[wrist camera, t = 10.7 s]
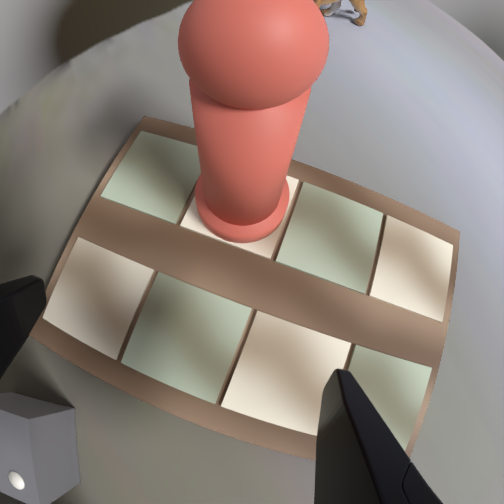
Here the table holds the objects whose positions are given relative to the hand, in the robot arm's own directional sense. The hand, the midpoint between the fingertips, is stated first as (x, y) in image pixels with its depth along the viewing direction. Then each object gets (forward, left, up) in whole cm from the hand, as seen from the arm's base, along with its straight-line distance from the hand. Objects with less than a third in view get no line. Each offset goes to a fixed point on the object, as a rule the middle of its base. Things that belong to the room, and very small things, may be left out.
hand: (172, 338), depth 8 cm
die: (-10, +7, -9) cm, 15 cm away
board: (+4, -2, -9) cm, 10 cm away
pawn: (+8, +1, -7) cm, 11 cm away
